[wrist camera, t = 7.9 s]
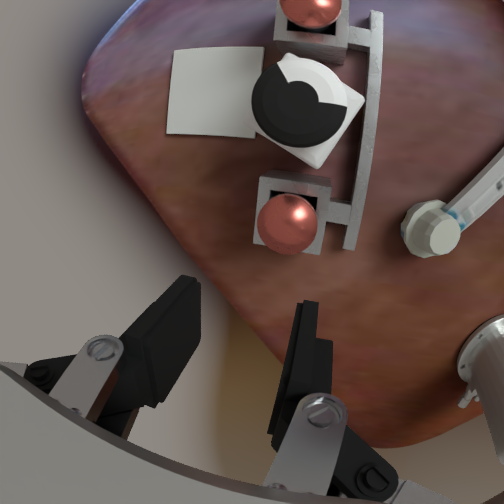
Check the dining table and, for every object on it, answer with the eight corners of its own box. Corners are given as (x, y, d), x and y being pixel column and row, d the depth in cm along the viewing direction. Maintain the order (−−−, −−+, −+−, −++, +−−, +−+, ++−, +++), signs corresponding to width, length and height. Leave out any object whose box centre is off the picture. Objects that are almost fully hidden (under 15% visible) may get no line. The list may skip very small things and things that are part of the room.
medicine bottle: (318, 163, 28) (316, 180, 17) (259, 126, 28) (219, 119, 17) (356, 107, 25) (378, 87, 14) (295, 69, 25) (276, 29, 14)
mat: (255, 138, 28) (254, 138, 28) (169, 133, 30) (166, 133, 30) (264, 48, 24) (263, 46, 24) (176, 51, 26) (174, 50, 26)
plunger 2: (315, 228, 30) (311, 259, 22) (271, 221, 30) (254, 248, 23) (322, 184, 28) (321, 201, 21) (276, 177, 29) (260, 191, 21)
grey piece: (564, 144, 15) (437, 283, 22) (531, 143, 21) (411, 259, 28) (547, 103, 14) (411, 238, 21) (514, 107, 21) (388, 222, 28)
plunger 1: (336, 55, 22) (340, 27, 15) (289, 50, 23) (277, 21, 16) (338, 18, 21) (342, -19, 13) (293, 13, 21) (281, -24, 14)
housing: (352, 243, 30) (358, 267, 25) (265, 228, 32) (252, 248, 26) (379, 19, 20) (390, -4, 15) (287, 6, 22) (279, -19, 16)
